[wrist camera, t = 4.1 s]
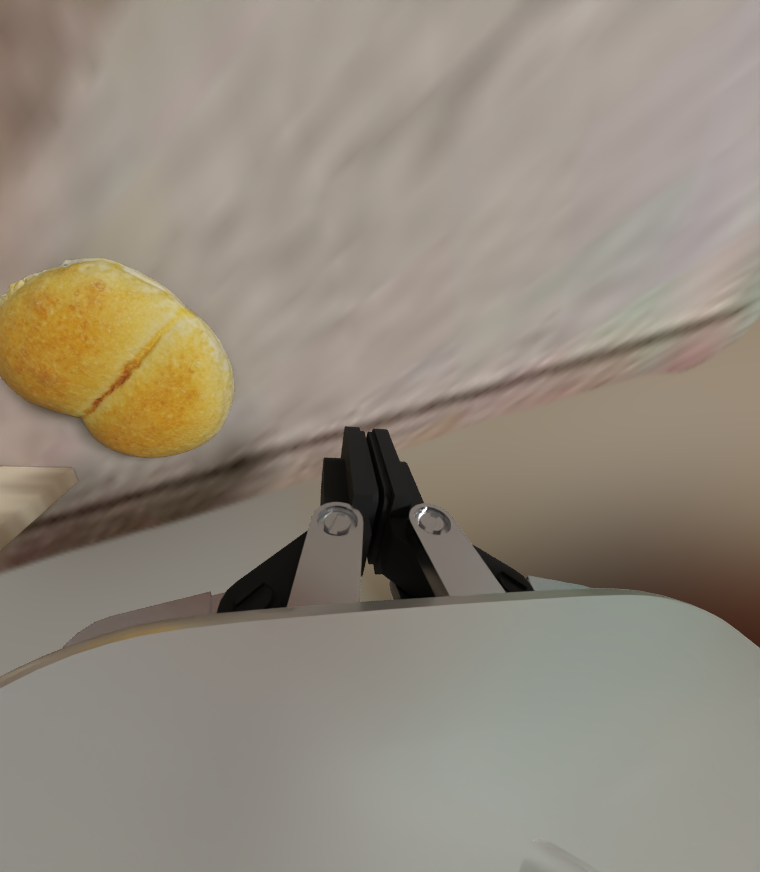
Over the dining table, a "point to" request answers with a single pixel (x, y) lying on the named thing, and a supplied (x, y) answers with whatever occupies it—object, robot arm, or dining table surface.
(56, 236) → the dining table surface
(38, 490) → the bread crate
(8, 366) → the bread roll
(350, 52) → the dining table surface
